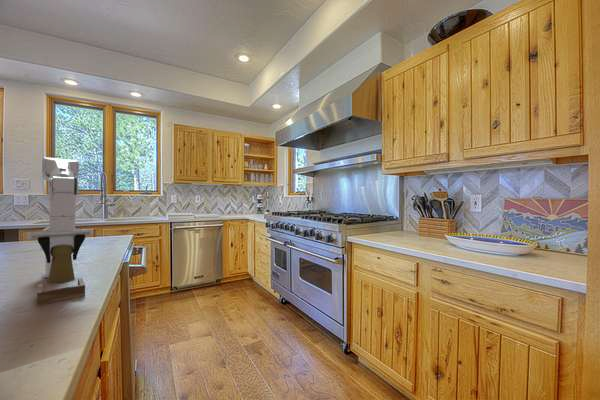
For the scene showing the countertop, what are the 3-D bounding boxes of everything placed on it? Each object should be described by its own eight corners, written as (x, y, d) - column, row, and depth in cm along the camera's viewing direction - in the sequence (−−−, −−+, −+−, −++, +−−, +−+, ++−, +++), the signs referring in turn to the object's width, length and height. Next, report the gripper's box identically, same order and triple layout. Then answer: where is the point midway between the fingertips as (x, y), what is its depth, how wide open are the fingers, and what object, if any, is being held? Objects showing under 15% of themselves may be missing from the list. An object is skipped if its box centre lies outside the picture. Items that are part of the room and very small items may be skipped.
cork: (55, 285, 72) (56, 247, 72) (42, 282, 74) (43, 245, 74) (79, 278, 78) (80, 244, 78) (66, 276, 80) (67, 242, 80)
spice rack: (37, 295, 75) (38, 284, 75) (81, 287, 82) (81, 277, 82) (36, 305, 68) (37, 293, 68) (84, 296, 75) (85, 285, 75)
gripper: (26, 218, 68) (25, 267, 68) (95, 216, 78) (94, 259, 78) (28, 216, 73) (27, 262, 73) (92, 214, 83) (91, 255, 83)
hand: (61, 260), depth 76 cm, fingers closed on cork, 5 cm apart
